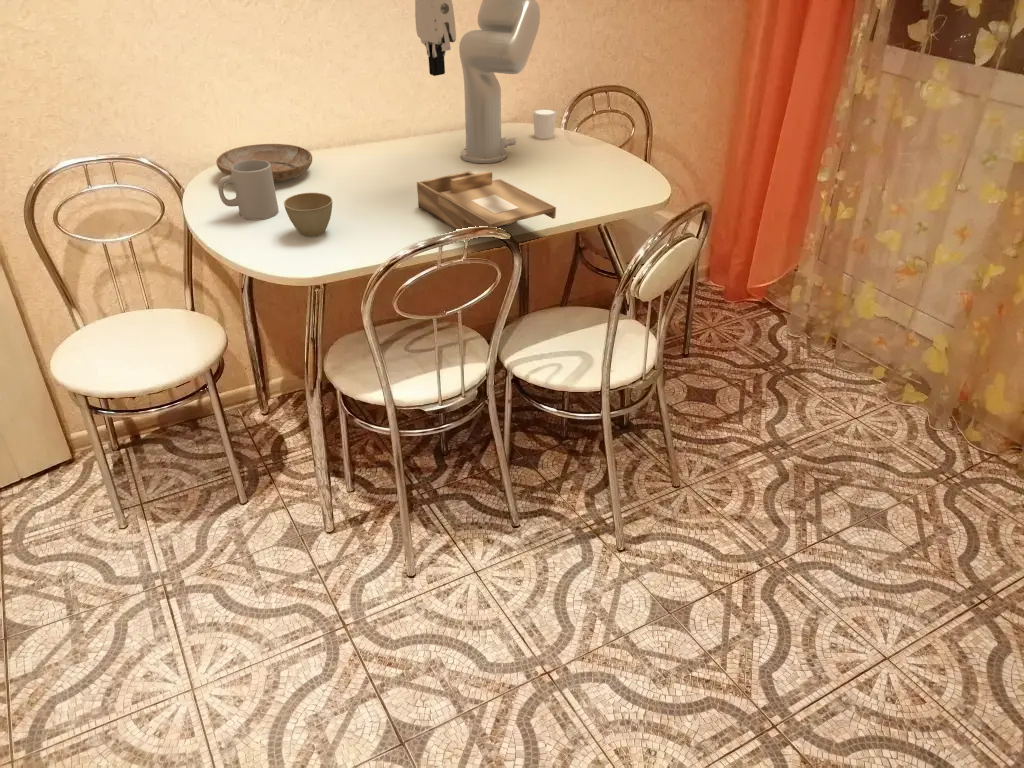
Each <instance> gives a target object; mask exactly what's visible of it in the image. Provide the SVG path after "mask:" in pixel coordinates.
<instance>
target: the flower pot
mask: <svg viewBox="0 0 1024 768" xmlns="http://www.w3.org/2000/svg"><path fill="white" fill-rule="evenodd" d="M283 207H284V210H285V212H286V215H287V217H288V219H289V221H290V222H291V224H292V225H293V226H294V228H295V229H296V230H297V232H299V234H300V235H301V236H303V237H306V238H317V237H319V236H322V235H324V234H325V232H326V230H327V228H328V226H329V223H330V220H331V216H332V211H333V198H332V197H331V196H330V195H329V194H326V193H321V192H304V193H303V192H302V193H297V194H293V195H291V196H289V197H287V198H286V199H285V200H284V201H283Z"/></svg>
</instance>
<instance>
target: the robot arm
mask: <svg viewBox="0 0 1024 768" xmlns="http://www.w3.org/2000/svg"><path fill="white" fill-rule="evenodd" d="M453 5H454V4H453V0H414V12H415V13H414V15H415V16H414V17H415V19H414V20H415V29H416V30H415V31H416V35H417V37H418V38H419V39H420V43H421V44H423V45H424V46H425V50H426V55H427V57H428V68H429V69H428V71H429V75H431V76H434V77H436V76H441V75H445V73H446V68H445V67H446V66H445V64H446V63H445V56H446V51H451V50H452V49H451V48H452V47H451V43H455V42H456V40H457V30H456V21H455V20H456V19H455V11H454V6H453ZM540 23H541V10H540V6H539V3H538V1H537V0H482V1H481V3H480V7H479V10H478V13H477V25H478V27H479V29H473V30H470V31H467V32H466V33H464V34H463V36H461V38H460V41H459V47H458V50H459V52H458V53H459V58H460V62H461V67H462V74H463V75H462V77H463V86H464V91H463V92H464V113H465V114H464V115H465V116H464V120H465V148H463V149H462V150H461V151H460V158H461V160H463V161H466V162H469V163H473V164H491V163H492V164H493V163H498V162H500V161H501V162H502V161H504V160H505V159H507V157H508V152H507V150H506V148H507V147H513V146H515V145H517V139H516V138H515V137H512V138H507V137H502V89H501V86H500V85H501V84H500V82H499V80H498V78H497V76H496V74H504V75H518V74H520V73H521V72H523V70H524V69H525V67H526V65H527V62H528V60H529V58H530V54H531V52H532V48H533V46H534V43H535V40H536V37H537V35H538V31H539V27H540Z"/></svg>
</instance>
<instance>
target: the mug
mask: <svg viewBox="0 0 1024 768" xmlns="http://www.w3.org/2000/svg"><path fill="white" fill-rule="evenodd" d="M231 172H232V174H231V175H228V176H226V175H224V176H223V177H220V179H219V180H218V185H217V186H218V194H219V197H220V200H221V202H222V204H223V205H225V206H226V207H238V213H239V215H240V217H241V218H243V219H246V220H248V221H250V220H251V221H259V220H266V219H270V218H273V217H275V216H276V215H278V213H279V205H278V201H277V194H276V188H275V183H274V182H273V176H272V170H271V165H270V163H269V162H267V161H264V160H246V161H241V162H238V163H235V164H234V165H232V167H231ZM226 184H233V187H234V191H235V198H232V199H229V198H227V197H226V196H225V194H224V187H225V186H224V185H226Z"/></svg>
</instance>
